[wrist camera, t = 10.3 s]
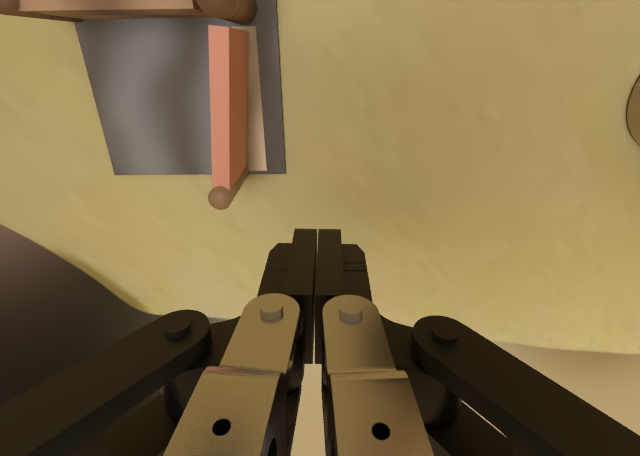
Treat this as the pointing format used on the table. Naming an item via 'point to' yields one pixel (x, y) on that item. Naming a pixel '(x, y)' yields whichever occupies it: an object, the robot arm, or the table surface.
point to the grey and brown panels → (171, 78)
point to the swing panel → (228, 112)
